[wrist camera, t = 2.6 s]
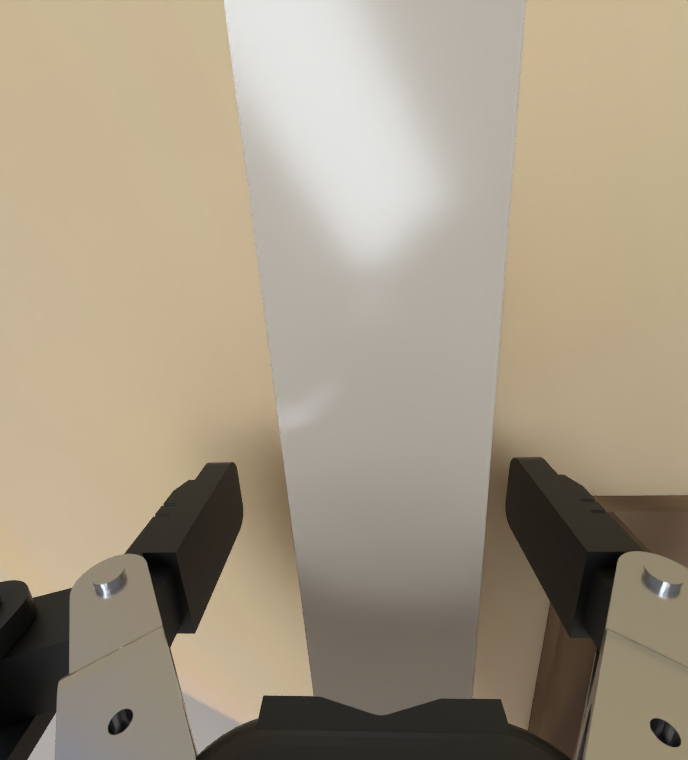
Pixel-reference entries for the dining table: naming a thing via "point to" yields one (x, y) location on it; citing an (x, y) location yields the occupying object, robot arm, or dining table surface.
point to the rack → (576, 655)
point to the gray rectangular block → (383, 315)
